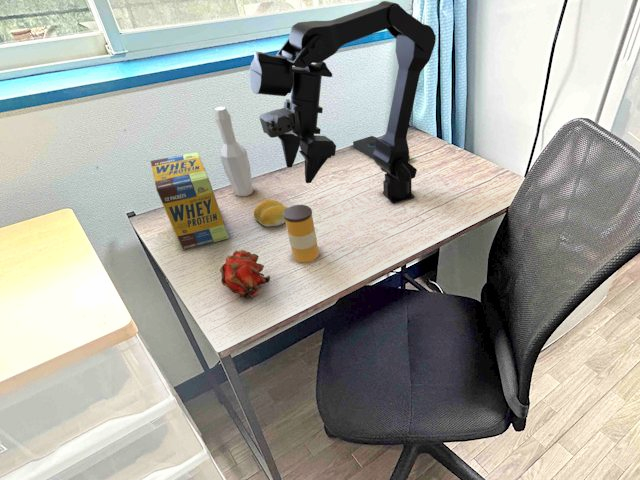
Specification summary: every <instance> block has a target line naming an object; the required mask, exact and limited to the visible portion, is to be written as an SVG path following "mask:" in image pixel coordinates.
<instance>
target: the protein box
mask: <svg viewBox="0 0 640 480" xmlns="http://www.w3.org/2000/svg"><path fill="white" fill-rule="evenodd" d="M150 166H151V171H152V176H153V180H154V184H155V189H156V192H157V195H158V197H159V199H160V201H161V203H162V207H163V208H164V210H165V213H166V216H167V218H168V220H169V222H170V224H171V226H172V228H173V231H174V233H175V236H176V238H177V240H178V242H179V244H180V247H181V249H182V251H186V250H189V249H193V248H197V247H202V246H206V245H208V244H209V245H210V244H212V243H216V242H219V241H225V240H228V239H229V235H228V231H227V228H226V225H225V222H224V219H223V216H222V214H221V211H220V207H219V204H218V201H217V198H216V195H215V192H214V190H213V187H212V184H211V181H210V179H209V175H208V173H207V170H206V168H205V166H204V163H203V161H202V159H201V156H200V154H199V152H191V153H186V154H181V155H176V156H170V157H164V158H159V159H154V160H150Z"/></svg>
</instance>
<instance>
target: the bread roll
mask: <svg viewBox="0 0 640 480" xmlns="http://www.w3.org/2000/svg"><path fill="white" fill-rule="evenodd" d="M287 208H289V206H286V205H285V204H283V202H281V201H279V200H277V199H266V200H263V201H261V202H259V203H258V204H257V205H256V206H255V207H254V210H253V218H254V219H255V220H256V221H257V222H259V224H260V225H262V226H263V227H267V228H269V227H278V226H281V225H284V224H286V222H285V218H284V215H283V213H284V211H285V210H286V209H287Z"/></svg>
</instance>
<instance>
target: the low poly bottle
mask: <svg viewBox="0 0 640 480" xmlns="http://www.w3.org/2000/svg"><path fill="white" fill-rule="evenodd" d="M214 119H215V122H216V125H217V127H218V129H219V132H220V136H221V138H222V141H223V146H222V148H221V151H220V154H219V157H220V161H221V164H222V167H223V170H224V173H225V175H226V177H227V179H228V181H229V183H230V186H231V188H232V191H233V193H234V194H235V196H238V197H248V196H250V195H252V194H253V192H254V186H253V185H254V184H253V178H252V177H253V176H252V172H251V164H250V161H249V160H250V159H249V156H248V152H247V149H246V148H245V147H244V146H243V145H242V144H241V143H239V142H238V141H237V138H236V136H235V132H234V128H233V122H232V117H231V114H230V112H229V111H228V110H227V108H226V107H224V106H218V107H216V108H215V109H214Z"/></svg>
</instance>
